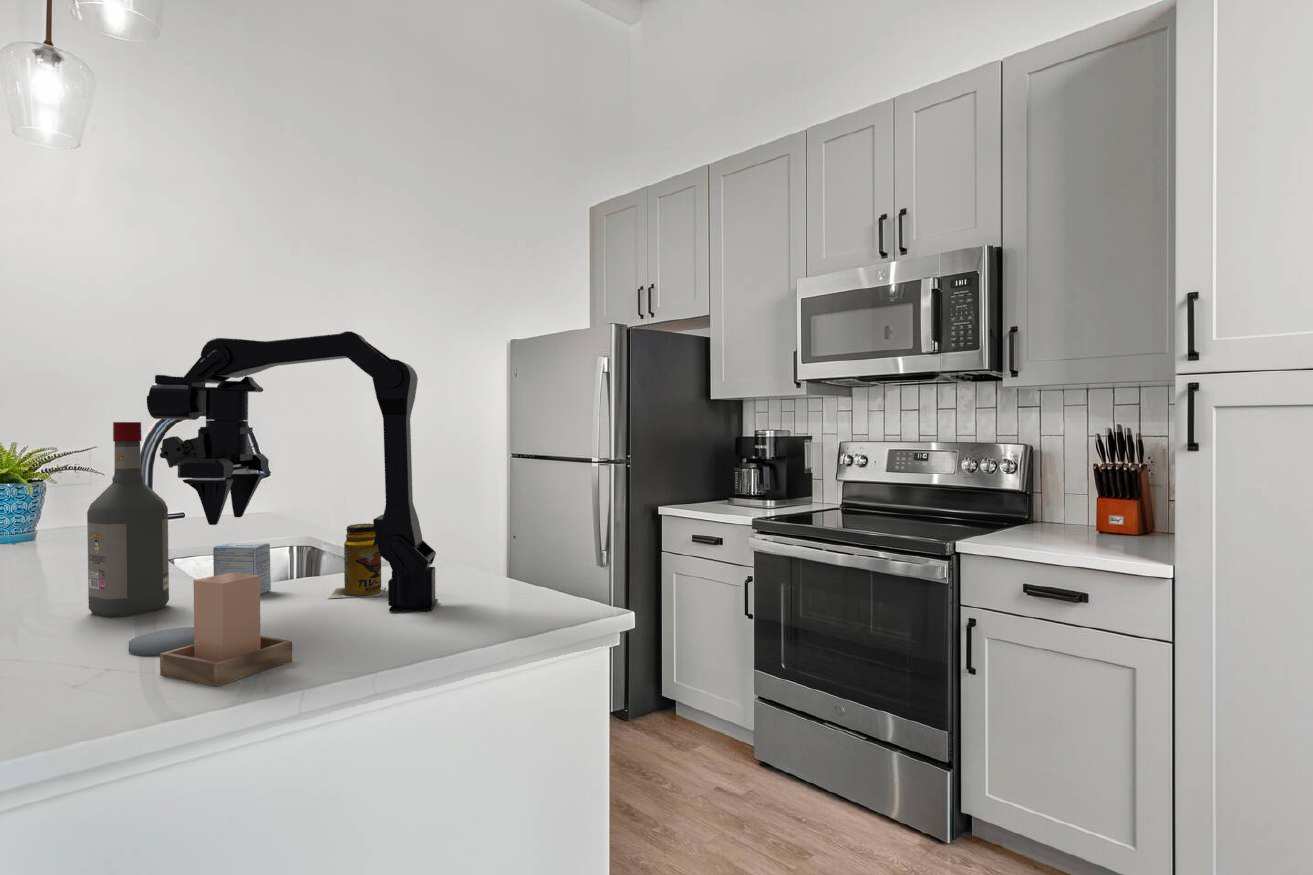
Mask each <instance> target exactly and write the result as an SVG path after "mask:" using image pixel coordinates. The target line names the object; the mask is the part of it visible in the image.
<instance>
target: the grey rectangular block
mask: <svg viewBox="0 0 1313 875" xmlns="http://www.w3.org/2000/svg"><path fill="white" fill-rule="evenodd" d="M212 552H213V553H212V554H213V556H212V557H213V559H212V560H213V561H212V562H213V576H217V575H222V574H227V573H240V574H249V575H258V576H260V596H261V595H264V594H266V593H269V592H271V591H272V580H271V579H272V577H271V545H270V543H269V542H227V543H226V542H225V543H221V544H218V545H215V546H213V548H212Z"/></svg>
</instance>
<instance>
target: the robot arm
mask: <svg viewBox="0 0 1313 875" xmlns="http://www.w3.org/2000/svg"><path fill="white" fill-rule="evenodd" d="M343 359H349V360H350V362H352V363H353V364H355V366H356V367H358V368H359V369H360V370H362V371H363V372H365V374H367V375H368V376H369V377H371V378H372V383H373V386H374V388H373V389H374V394H375V398H376V401H377V402H378V406H379V410H380V412H381V414H382V419H383V420H382V421H383V422H382V423H383V452H384V454H383V456H384V458H383V459H384V488H385V490H384V491H385V492H384V493H385V508H384V512H383V514H381V515H379V516H377V517H375V518H373V521H372V522H373V523H372V524H374V529H375V540H374V543H373V545H376V544H378V551H379V554H380V556H381V558H382V559H384V560H385V561H386V562H387V563H389V565H390V568H391V578H390V579H389V580H388V581H387V582H388V583H387V586H388V587H387V588H388V596H387V597H388V601H387V602H388V603H387V604H388V606H389V608H388V612H390V613H395V612H399V613H401V612H428V611H429V612H430V611H432V610H433V609H434V607H435V606H436V605H437V603H438V601H439V599H438V598H436V566H431V565H433V563H434V560H435V558H436V554H437V553H436V550H434V549H433V548H432V547H431V546H430V545H429V544H428V543H427V542H426V541H424V540H423V534H422V530H421V526H420V520H419V517H418V514H417V510H416V508H415V505H414V499H413V470H412V469H413V465H412V464H413V463H412V462H413V461H412V438H411V437H412V436H411V435H412V434H411V433H412V432H411V417H412V413H413V408H414V403H415V402H416V401H415V400H416V393H417V386H418V380H419V379H418V378H419V377H418V374H417V372H416V370H415V369H414V368H413V367H412V365H410V364H408V363H406V362H404V361H401V360H399V359H395V358H390V357H389V356H388V355H386V354H384V352H383V351H380V350H379V349H378V348H376V347H375V346H373V345H372V344H371V343H369V342H368V341H366V338H364V337H363V336H362V335H360V334H359V333H356V332H353V331H347V330H346V331H343V332H340V333H334V334H325V335H314V336H305V337H296V338H295V337H294V338H286V339H277V340H266V341H265V340H264V341H263V340H253V339H245V338H244V339H242V338H227V337H226V338H225V337H215V338H211V339H210V340H207V342H206V344H204V346H203V347H202V349H201V352H200V357H199V358H198V359H197V361H195V363H194V364H193V365H192V366H191V367H190V369H189V370H188V371H187V372H186V374H185V375H184V376H172V375H165V374H156V375H154V383H152V384H151V387H150V388H149V391H148V395H147V396H146V407H147V410H148V413H149V415H150V416H151V418H152V419H154V420H184V421H185V420H190V421H191V420H192V421H196V420H198V419H199V418H200V417H201V415H202V414H203V415H204V414H205V426H200V427H199V428H198V429H197V436H196V437H193V438H191V439H188V438H187V439H185V440H183V439H182V438H180V437H179V436H178V435H177V436H174V435H173V436H170V437H166V438H164V439H162V441H161V447H160V453H159V457H160V458H161V459H165V460H166V463H167V465H168V467H169V469H171V468H173V467H177V478H179V479H182V482H183V483H184V484H188V485H189V486H190V487H192V488H193V489H194V490H195V491H196V493H197V495H198V496H199V499H200V503H201V506H202V508H203V511H204V514H205V518H206V520H207V523H208V525H210V526H216V525H218V524H219V521H220V519H221V516H222V513H223V510H224V508H225V505H226V502H227V500H228V496H229V493H230V499H231V505H232V512H233V517H234V518H242V517H243V516H244V513H245V511H246V509H247V507H248V506H249V504H250V501H251V500H252V497H253V496H254V494H255V492H256V491H257V488H258V486H259V484H260V483H261V481H262V480H263V478H264V477H265V475H266V472H269V458H268V457H266V456H265V455H264V454H263V453H252V452H249V451H248V448H249V447H248V446H249V435H252V434H253V432H254V430H253V428H254V427H251V426H250V427H249V393H262V392H264V388H263V387H262V386H261V385H259V384H258V382H256V380H254V378H253V376H250V375H253V374H257V373H260V372H263V371H266V370H268V369H270V368H274V367H279V366H287V365H288V366H289V365H296V364H305V363H313V362H314V363H315V362H316V363H317V362H322V361H332V360H333V361H334V360H343ZM231 378H233V379H234V378H235V379H239V378H242V380H229V379H231ZM206 384H215V385H216V384H217V386H206ZM257 471H258V472H257Z"/></svg>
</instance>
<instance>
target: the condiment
mask: <svg viewBox="0 0 1313 875" xmlns="http://www.w3.org/2000/svg"><path fill="white" fill-rule="evenodd" d="M345 530H346V535H345V537H346V539H345V542H344V543H343V544H344V546H343V551H344V552H343V556H344V558H343V564H344V567H343V568H344V572H343V575H344V586H343V587H337V588H335V589H334V591H333V592H332V594H330V595H329V597H328V599H339V598H341V599H342V598H345V599H346V598H371V597H372V598H373V597H380V596H381V597H382V594H383V593H384V591H385V589H386V585H385V586H382V557H381V556H380V554H379V551H378V544H376V545H373V543H374V540H375V529H374V523H357V524H349V525H348V526H347V527H346V529H345Z"/></svg>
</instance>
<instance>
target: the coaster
mask: <svg viewBox="0 0 1313 875" xmlns="http://www.w3.org/2000/svg"><path fill="white" fill-rule="evenodd" d="M193 644H194V626H184V627H174V628H173V627H172V628H167V629H161V630H156V631H152V632H148V633H144V634H140V635H139V636H136V637H134V638H131V639H130V640H129V641H128V652H129V654H132V655H136V656H160V654H161V653H164V652H168V651H171V650H175V649H178V648H182V647H186V646H189V645H193Z"/></svg>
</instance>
